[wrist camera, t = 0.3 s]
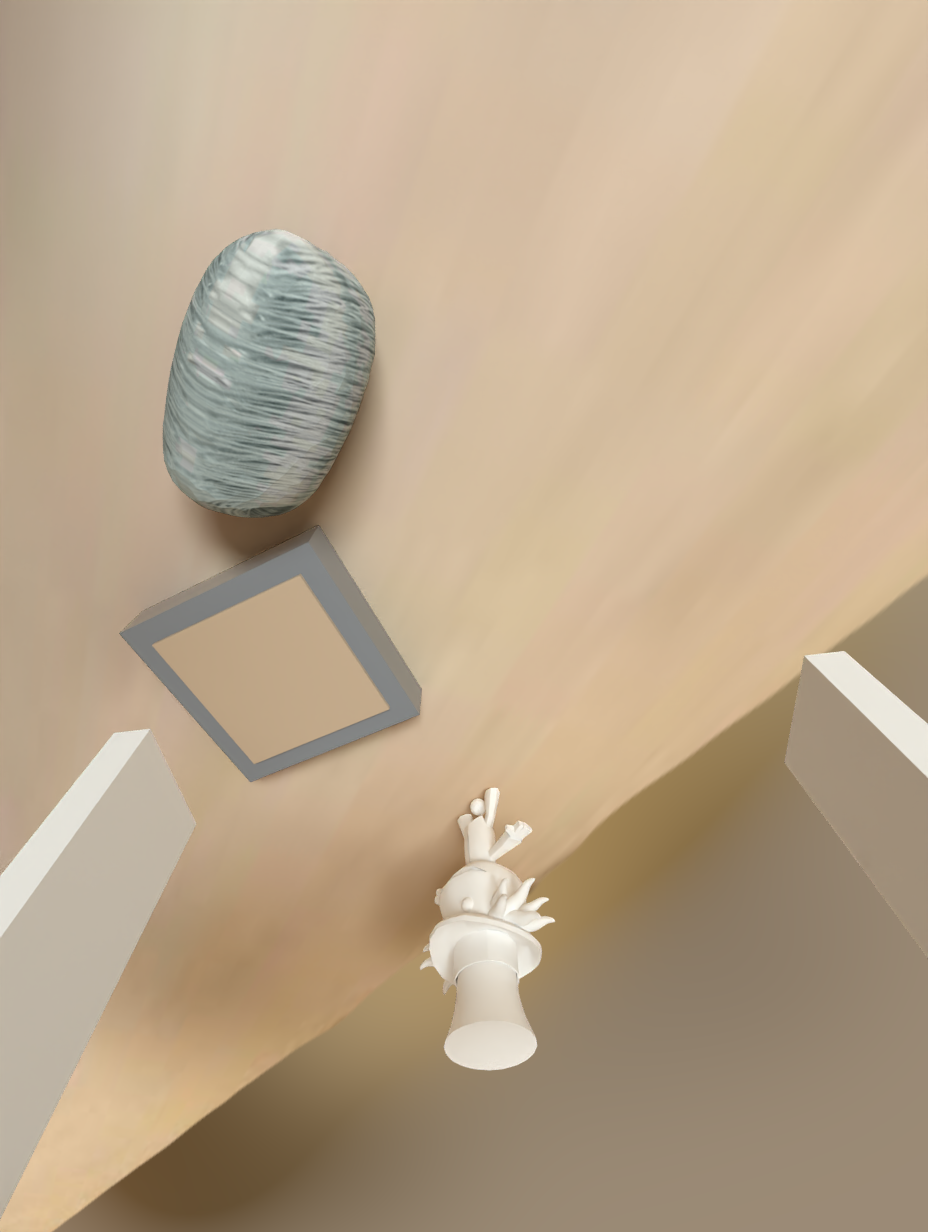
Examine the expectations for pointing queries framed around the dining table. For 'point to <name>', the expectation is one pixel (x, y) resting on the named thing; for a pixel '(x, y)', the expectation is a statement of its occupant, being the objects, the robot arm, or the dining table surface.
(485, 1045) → the figurine
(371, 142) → the dining table surface
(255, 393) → the grey streaked ellipsoid
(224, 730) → the stand
